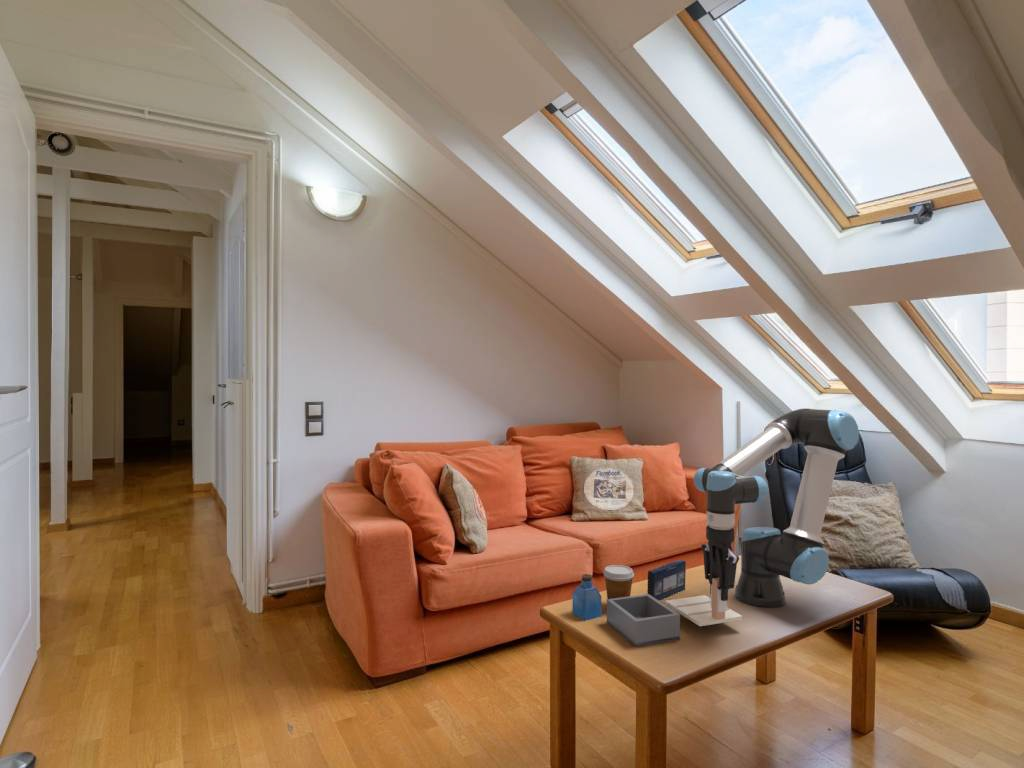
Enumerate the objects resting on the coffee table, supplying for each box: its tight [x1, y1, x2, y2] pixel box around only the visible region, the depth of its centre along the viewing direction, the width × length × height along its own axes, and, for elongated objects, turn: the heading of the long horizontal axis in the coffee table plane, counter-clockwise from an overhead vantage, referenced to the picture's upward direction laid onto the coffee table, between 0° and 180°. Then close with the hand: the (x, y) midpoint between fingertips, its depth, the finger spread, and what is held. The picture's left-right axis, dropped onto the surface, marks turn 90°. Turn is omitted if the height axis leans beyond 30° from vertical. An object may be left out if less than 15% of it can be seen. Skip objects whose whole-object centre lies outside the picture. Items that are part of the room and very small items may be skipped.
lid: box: [664, 578, 743, 627], centre depth 172 cm, size 15×17×13 cm
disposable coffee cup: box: [603, 564, 635, 600], centre depth 183 cm, size 10×10×12 cm
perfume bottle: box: [571, 573, 602, 622], centre depth 177 cm, size 6×6×12 cm
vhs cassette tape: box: [646, 559, 687, 601], centre depth 194 cm, size 18×3×10 cm, turn 129°
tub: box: [606, 593, 681, 648], centre depth 167 cm, size 14×16×7 cm
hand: (718, 608), depth 166 cm, fingers closed on lid, 2 cm apart
